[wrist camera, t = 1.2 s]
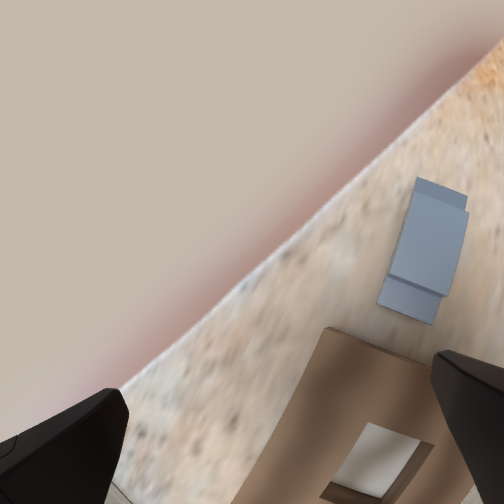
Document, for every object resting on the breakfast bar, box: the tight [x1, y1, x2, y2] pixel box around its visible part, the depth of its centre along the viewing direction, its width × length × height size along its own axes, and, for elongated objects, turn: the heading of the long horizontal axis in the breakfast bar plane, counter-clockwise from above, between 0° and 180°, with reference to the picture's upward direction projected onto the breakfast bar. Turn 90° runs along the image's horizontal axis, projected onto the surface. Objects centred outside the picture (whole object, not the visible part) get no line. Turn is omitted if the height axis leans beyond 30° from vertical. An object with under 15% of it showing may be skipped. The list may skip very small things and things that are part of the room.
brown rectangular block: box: [231, 327, 475, 504], centre depth 19 cm, size 18×18×4 cm
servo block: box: [376, 177, 469, 325], centre depth 21 cm, size 4×10×6 cm, turn 156°
